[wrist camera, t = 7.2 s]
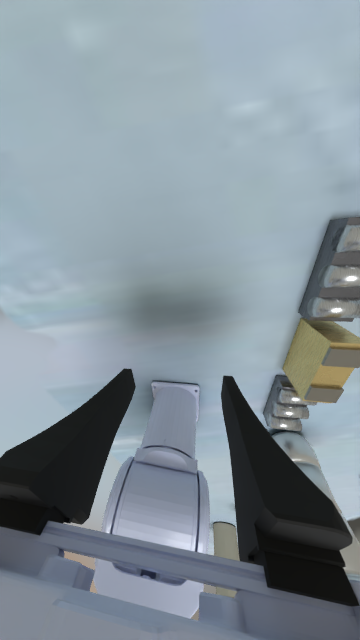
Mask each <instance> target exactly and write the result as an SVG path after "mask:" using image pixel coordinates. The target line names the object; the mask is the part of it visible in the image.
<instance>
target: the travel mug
mask: <svg viewBox="0 0 360 640" xmlns="http://www.w3.org/2000/svg"><path fill="white" fill-rule="evenodd" d="M213 530H214V555H215V556H218V557H223V558H227V559H232V560H237V561H239V552H238V544H237V535H236V528H235V527H234V526H233V525H231V524H229V523H225V522H216V523H215V524H213ZM236 593H237V591H232V590H228V589H224V588H220V587H216V594H217V595H223V596H228V597H231V598H234V597H235V594H236Z"/></svg>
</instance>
